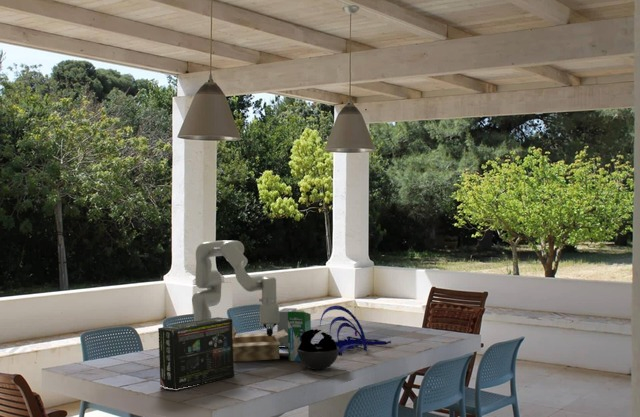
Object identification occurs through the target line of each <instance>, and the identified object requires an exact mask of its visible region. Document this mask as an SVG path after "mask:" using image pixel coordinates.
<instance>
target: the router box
mask: <svg viewBox="0 0 640 417" xmlns="http://www.w3.org/2000/svg"><path fill="white" fill-rule="evenodd" d="M232 328H233V319H232V318H227V317H219V316H217V317H213V318H211V319H205V320H200V321H194V320H193V321H189V322H184V323H178V324H173V325H168V326H162V327H158V329H157V331H158V354H159V358H158V359H159V379H160V380H159V382H160V383H159V384H160V385H162V386H164V387H168V388H173V389H178V388H183V387H188V386H193V385H197V384H202V383H205V382H210V381H213V382H215V381H214V380H217V381H220V380H219V379H221V380H224V378H225V379H228V378H231V377H234V376H235V365H234V363H235V362H233V336H232ZM210 383H211V382H210ZM202 385H203V384H202Z"/></svg>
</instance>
